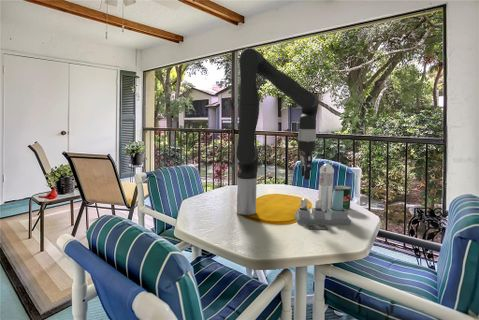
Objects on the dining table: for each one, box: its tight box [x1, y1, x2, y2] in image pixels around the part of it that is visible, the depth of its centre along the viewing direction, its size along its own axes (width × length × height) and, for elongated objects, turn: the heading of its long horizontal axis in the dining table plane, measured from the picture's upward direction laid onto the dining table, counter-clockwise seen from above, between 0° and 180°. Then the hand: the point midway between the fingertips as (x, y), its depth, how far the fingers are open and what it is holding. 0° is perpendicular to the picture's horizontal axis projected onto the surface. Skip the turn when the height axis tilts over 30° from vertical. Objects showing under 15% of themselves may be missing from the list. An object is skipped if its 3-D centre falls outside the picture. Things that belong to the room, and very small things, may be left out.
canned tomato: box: [334, 184, 352, 211], centre depth 154 cm, size 8×8×11 cm
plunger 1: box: [300, 198, 308, 210], centre depth 133 cm, size 3×3×5 cm
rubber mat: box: [306, 224, 329, 231], centre depth 126 cm, size 8×5×1 cm, turn 88°
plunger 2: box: [314, 198, 322, 211], centre depth 133 cm, size 3×3×5 cm
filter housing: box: [294, 207, 352, 226], centre depth 134 cm, size 23×9×6 cm, turn 88°
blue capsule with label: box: [332, 187, 344, 211], centre depth 133 cm, size 4×4×13 cm
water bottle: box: [317, 160, 335, 213], centre depth 148 cm, size 7×7×25 cm
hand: (305, 177), depth 131 cm, fingers open, 6 cm apart
